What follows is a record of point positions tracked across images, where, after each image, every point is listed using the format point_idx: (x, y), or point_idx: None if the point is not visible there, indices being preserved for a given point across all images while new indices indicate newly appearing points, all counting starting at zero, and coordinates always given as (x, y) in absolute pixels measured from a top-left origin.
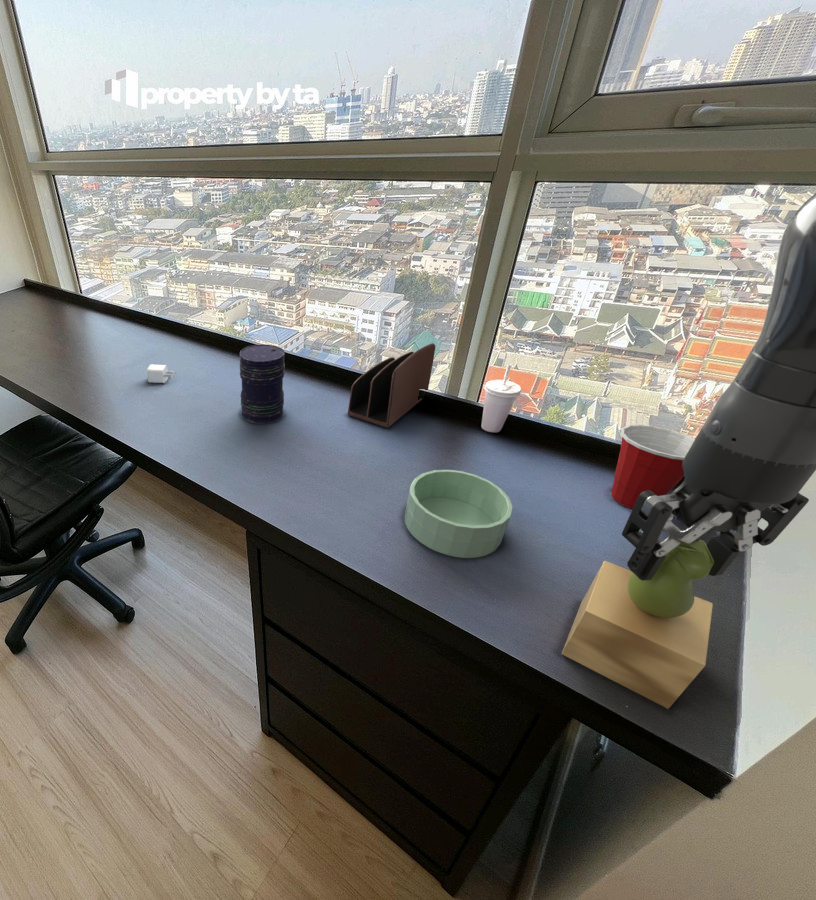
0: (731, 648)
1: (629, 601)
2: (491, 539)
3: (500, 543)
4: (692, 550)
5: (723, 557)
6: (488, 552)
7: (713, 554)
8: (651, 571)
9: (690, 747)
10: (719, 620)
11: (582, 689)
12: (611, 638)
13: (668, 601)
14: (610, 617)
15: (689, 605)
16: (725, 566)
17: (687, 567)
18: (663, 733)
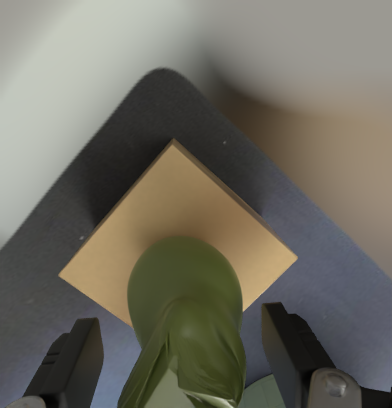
0: (21, 227)
1: None
2: (280, 403)
3: (242, 396)
4: (214, 396)
5: (78, 371)
6: (268, 379)
7: (85, 381)
8: (287, 322)
9: (181, 85)
10: (5, 271)
11: (266, 166)
12: (254, 215)
13: (214, 256)
14: (265, 244)
15: (164, 250)
16: (72, 342)
17: (211, 333)
18: (202, 104)
